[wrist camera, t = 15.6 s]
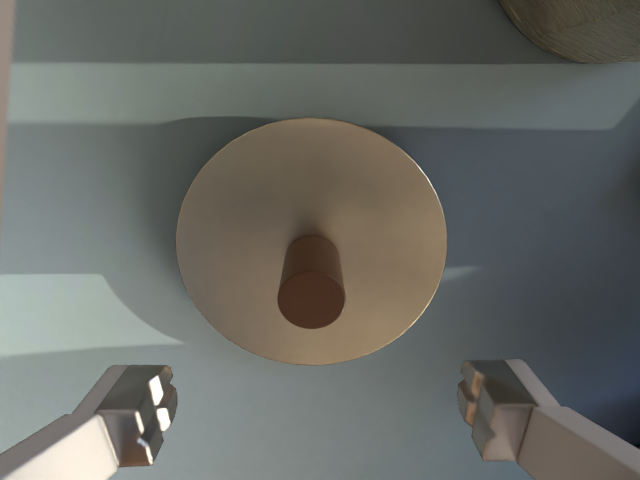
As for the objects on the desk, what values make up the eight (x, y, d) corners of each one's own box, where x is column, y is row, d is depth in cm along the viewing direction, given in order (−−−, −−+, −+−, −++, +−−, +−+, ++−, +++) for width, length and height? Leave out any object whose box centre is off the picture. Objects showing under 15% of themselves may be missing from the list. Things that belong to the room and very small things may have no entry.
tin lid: (161, 118, 15) (97, 126, 10) (455, 114, 15) (514, 120, 10) (204, 353, 19) (172, 425, 15) (425, 348, 20) (456, 419, 15)
